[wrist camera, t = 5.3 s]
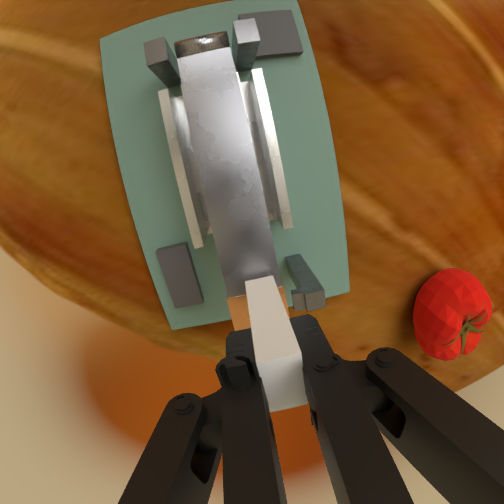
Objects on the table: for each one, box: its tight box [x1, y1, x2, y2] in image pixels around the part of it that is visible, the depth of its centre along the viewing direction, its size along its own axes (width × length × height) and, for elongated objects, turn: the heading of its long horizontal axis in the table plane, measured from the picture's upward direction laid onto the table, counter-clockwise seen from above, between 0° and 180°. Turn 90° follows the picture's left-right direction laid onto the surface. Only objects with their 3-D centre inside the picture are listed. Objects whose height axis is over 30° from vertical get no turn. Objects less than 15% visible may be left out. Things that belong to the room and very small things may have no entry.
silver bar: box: [143, 18, 326, 312], centre depth 17 cm, size 17×8×6 cm, turn 11°
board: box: [100, 0, 350, 330], centre depth 20 cm, size 26×16×2 cm, turn 11°
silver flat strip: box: [174, 31, 290, 331], centre depth 15 cm, size 18×3×1 cm, turn 12°
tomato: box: [413, 268, 492, 361], centre depth 23 cm, size 9×9×8 cm
